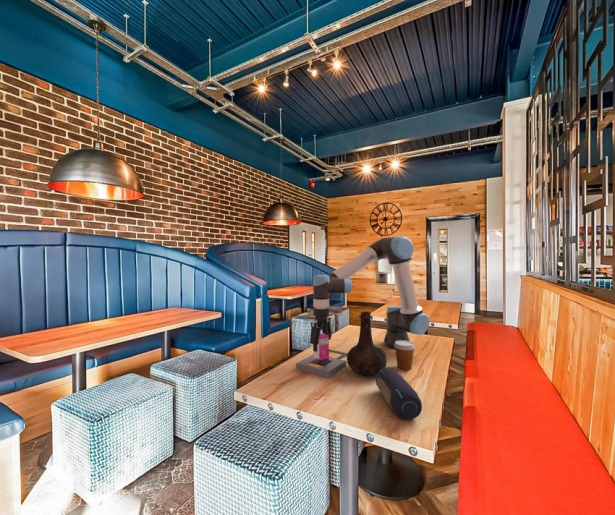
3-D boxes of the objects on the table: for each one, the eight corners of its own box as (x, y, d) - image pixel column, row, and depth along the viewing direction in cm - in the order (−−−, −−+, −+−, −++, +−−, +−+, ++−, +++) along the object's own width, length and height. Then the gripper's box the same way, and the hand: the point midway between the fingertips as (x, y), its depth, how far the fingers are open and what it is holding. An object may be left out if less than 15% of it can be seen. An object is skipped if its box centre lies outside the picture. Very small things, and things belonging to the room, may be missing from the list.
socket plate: (346, 367, 143) (346, 360, 143) (328, 378, 130) (328, 371, 130) (315, 359, 154) (315, 352, 154) (296, 369, 141) (296, 362, 141)
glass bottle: (382, 384, 124) (382, 317, 124) (341, 377, 132) (341, 314, 131) (389, 369, 140) (389, 310, 140) (352, 363, 148) (352, 307, 147)
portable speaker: (373, 389, 121) (373, 364, 121) (397, 388, 121) (397, 363, 121) (395, 425, 96) (395, 394, 95) (425, 423, 96) (425, 393, 96)
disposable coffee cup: (396, 362, 148) (396, 338, 148) (416, 366, 143) (416, 341, 143) (391, 369, 140) (391, 344, 140) (412, 373, 135) (412, 347, 135)
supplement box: (312, 357, 144) (312, 334, 143) (323, 356, 146) (323, 332, 146) (318, 361, 138) (318, 337, 138) (329, 359, 141) (329, 335, 140)
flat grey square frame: (348, 354, 161) (348, 353, 161) (334, 362, 149) (334, 361, 149) (325, 349, 170) (325, 348, 170) (310, 356, 158) (310, 355, 158)
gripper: (326, 303, 152) (326, 348, 152) (301, 310, 136) (301, 360, 136) (338, 305, 148) (338, 351, 148) (315, 312, 131) (315, 363, 132)
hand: (321, 355), depth 142 cm, fingers closed on supplement box, 8 cm apart
